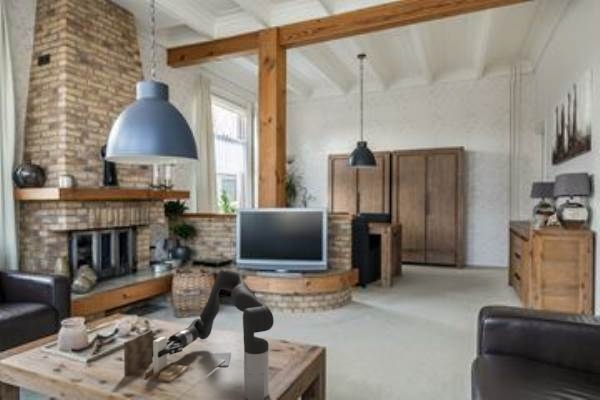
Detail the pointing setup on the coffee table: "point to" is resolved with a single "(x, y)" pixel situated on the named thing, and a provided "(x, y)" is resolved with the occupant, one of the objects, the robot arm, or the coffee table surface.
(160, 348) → the block
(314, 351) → the coffee table surface
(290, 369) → the coffee table surface
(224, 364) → the mat
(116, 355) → the coffee table surface
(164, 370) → the rack
